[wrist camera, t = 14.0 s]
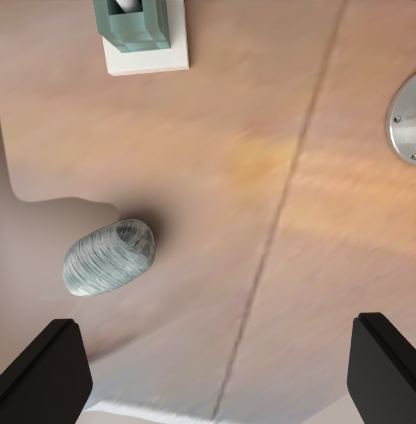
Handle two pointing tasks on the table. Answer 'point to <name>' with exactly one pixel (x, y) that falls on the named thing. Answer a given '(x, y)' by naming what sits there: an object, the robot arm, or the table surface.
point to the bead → (134, 25)
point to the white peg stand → (154, 58)
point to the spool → (109, 258)
